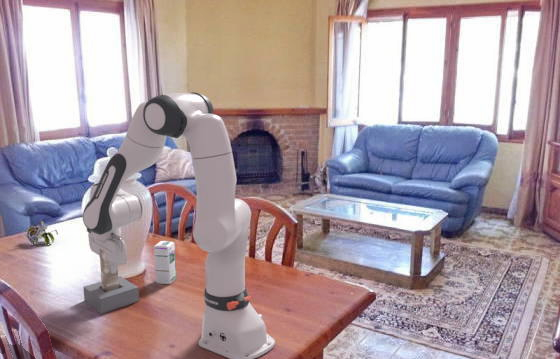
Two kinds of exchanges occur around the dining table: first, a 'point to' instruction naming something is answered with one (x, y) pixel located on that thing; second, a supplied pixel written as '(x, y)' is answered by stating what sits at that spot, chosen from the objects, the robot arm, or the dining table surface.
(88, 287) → the socket block
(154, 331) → the dining table surface
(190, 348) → the dining table surface
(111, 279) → the cream peg
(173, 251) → the syrup box
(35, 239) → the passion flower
